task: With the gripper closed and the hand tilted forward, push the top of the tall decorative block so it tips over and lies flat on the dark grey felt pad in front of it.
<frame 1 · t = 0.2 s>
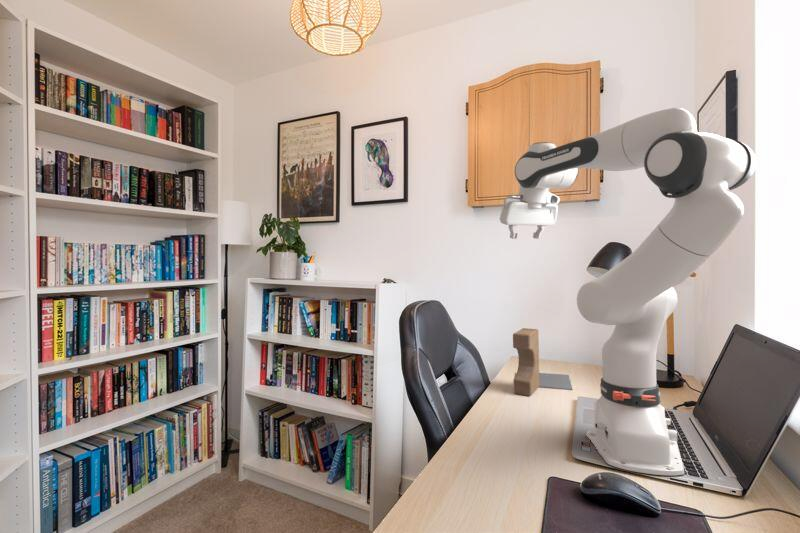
hand: (524, 238, 127), 51 cm above the table, tool tilted 20°, fingers open, 8 cm apart
felt pad: (542, 380, 143), on the table
decorative block: (526, 390, 131), on the table, touching felt pad
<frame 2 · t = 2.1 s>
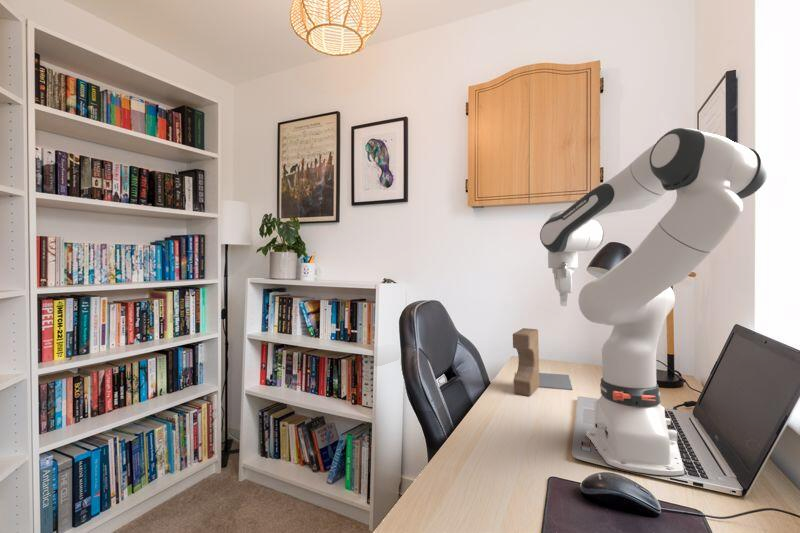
hand: (563, 305, 125), 29 cm above the table, tool pointing down, fingers closed
nothing on the table moved.
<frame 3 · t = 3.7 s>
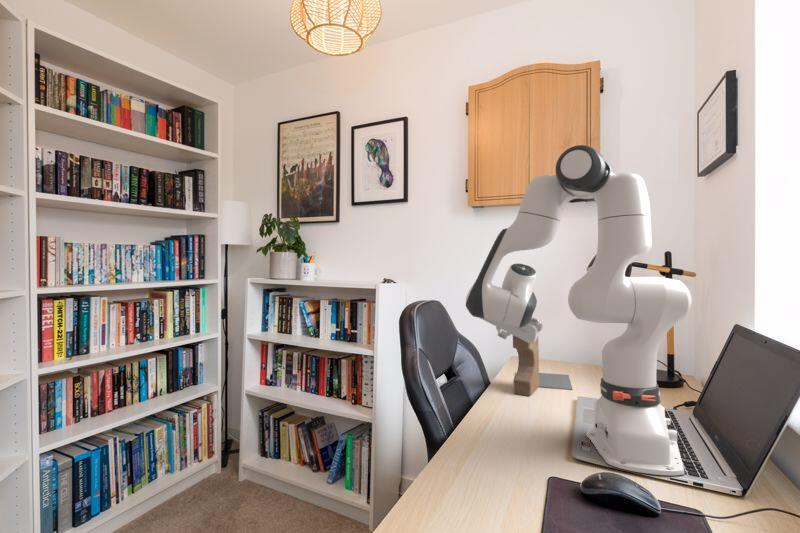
hand: (502, 336, 129), 19 cm above the table, tool tilted 40°, fingers closed
nothing on the table moved.
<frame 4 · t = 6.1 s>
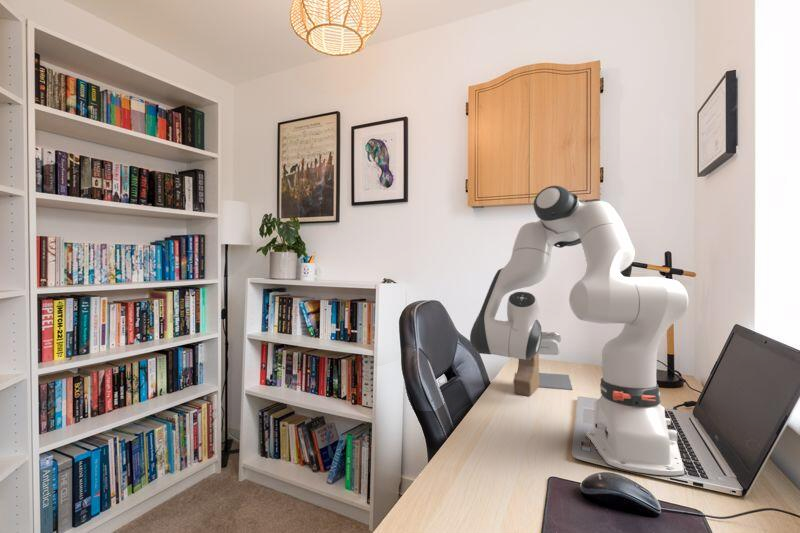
hand: (525, 357, 127), 12 cm above the table, tool tilted 45°, fingers closed
decorative block: (526, 390, 131), on the table, touching felt pad, gripper
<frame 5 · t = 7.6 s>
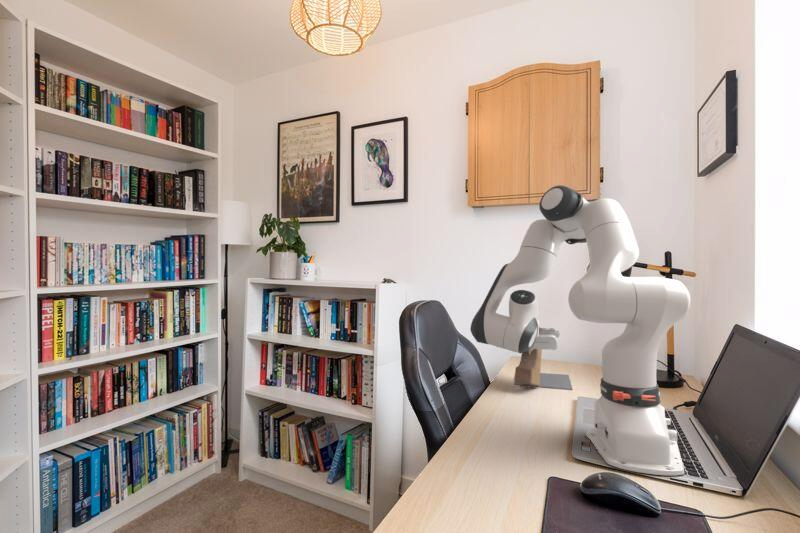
hand: (526, 352, 134), 12 cm above the table, tool tilted 45°, fingers closed
decorative block: (527, 384, 131), point 2 cm above the table, touching felt pad, gripper
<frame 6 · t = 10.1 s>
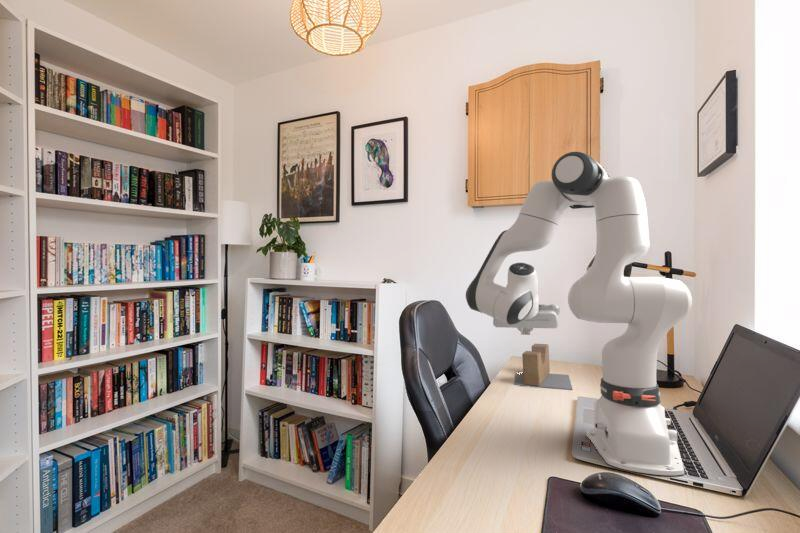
hand: (525, 333, 131), 20 cm above the table, tool tilted 40°, fingers closed
decorative block: (530, 369, 136), point 6 cm above the table, touching felt pad
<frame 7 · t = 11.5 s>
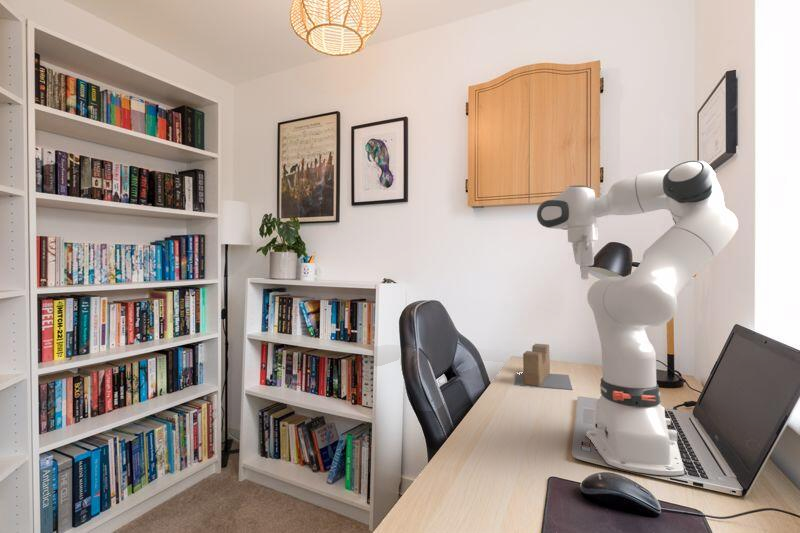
hand: (584, 279, 125), 38 cm above the table, tool pointing down, fingers closed
nothing on the table moved.
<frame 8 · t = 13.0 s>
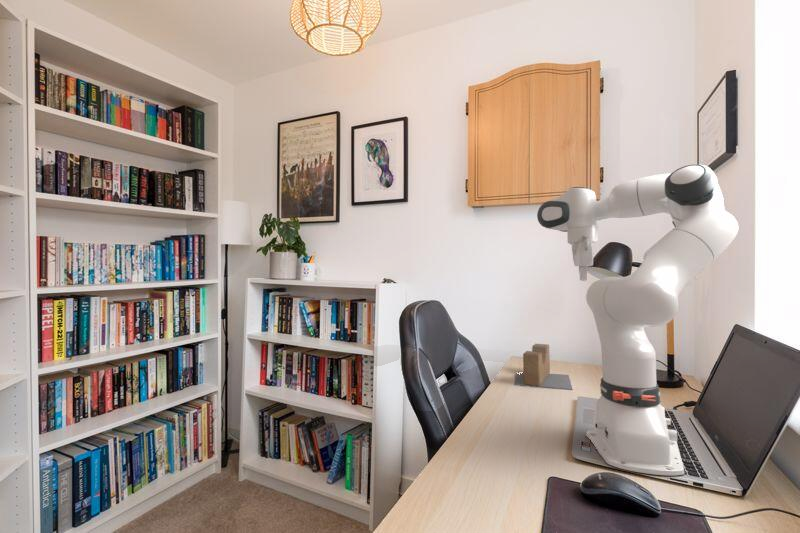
hand: (583, 280, 125), 37 cm above the table, tool pointing down, fingers closed
nothing on the table moved.
at the end: decorative block tilted 90°; decorative block inside the target area (8.0 cm from its centre), point 5.9 cm above the table; decorative block moved 7.8 cm from its start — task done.
